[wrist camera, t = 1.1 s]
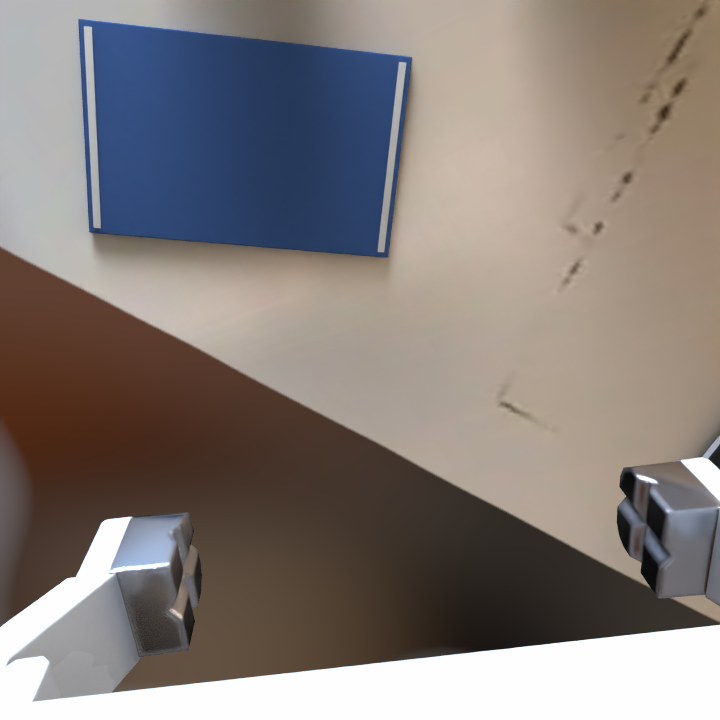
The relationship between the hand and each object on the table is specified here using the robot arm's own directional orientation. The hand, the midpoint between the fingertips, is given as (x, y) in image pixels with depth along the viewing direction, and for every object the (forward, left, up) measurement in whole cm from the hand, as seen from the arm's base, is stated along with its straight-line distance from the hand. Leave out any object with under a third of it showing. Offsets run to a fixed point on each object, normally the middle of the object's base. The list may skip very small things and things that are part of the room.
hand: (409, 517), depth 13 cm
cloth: (-2, -7, -40) cm, 41 cm away
